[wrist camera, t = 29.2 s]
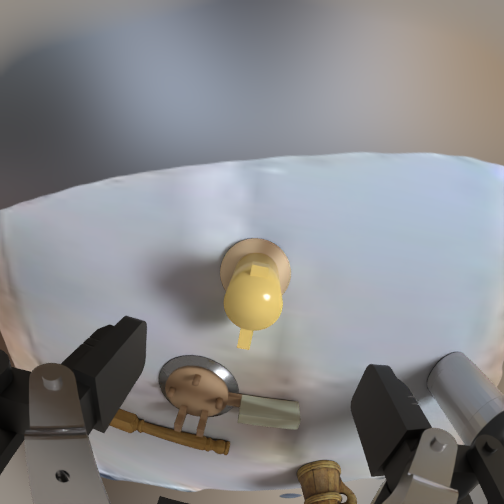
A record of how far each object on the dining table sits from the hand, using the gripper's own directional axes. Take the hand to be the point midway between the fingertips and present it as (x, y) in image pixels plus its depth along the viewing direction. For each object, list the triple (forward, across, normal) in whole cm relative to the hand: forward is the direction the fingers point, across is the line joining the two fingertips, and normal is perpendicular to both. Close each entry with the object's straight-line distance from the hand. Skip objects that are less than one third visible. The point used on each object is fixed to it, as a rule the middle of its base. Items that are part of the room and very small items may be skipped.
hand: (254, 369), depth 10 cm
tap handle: (+29, +13, +39) cm, 50 cm away
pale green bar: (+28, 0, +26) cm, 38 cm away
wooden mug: (+28, -24, +45) cm, 58 cm away
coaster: (+28, 0, +5) cm, 29 cm away
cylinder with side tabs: (+28, 0, +6) cm, 28 cm away
